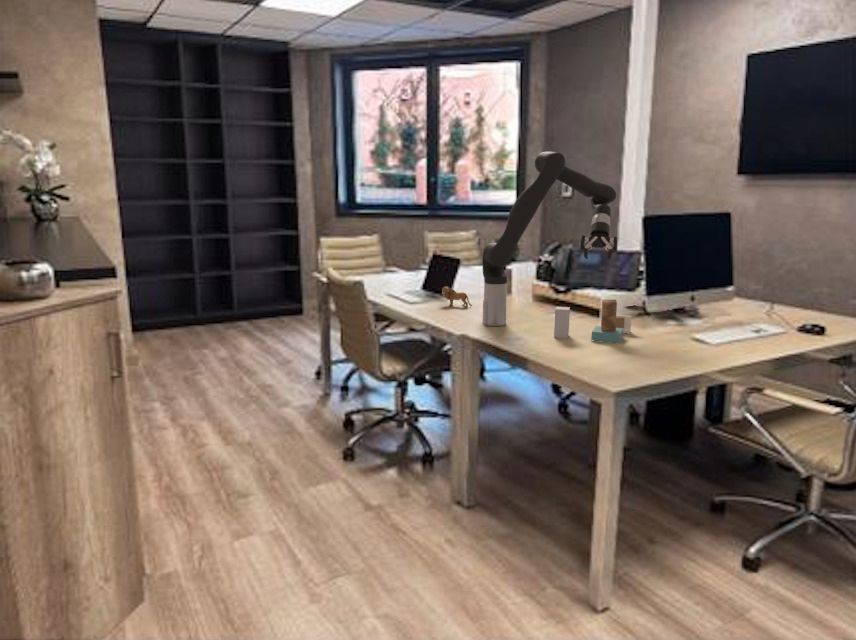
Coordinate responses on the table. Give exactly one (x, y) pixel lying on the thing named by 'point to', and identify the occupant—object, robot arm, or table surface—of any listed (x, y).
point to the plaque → (624, 323)
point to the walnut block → (608, 315)
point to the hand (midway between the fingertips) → (597, 258)
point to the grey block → (561, 322)
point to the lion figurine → (455, 296)
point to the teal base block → (607, 335)
